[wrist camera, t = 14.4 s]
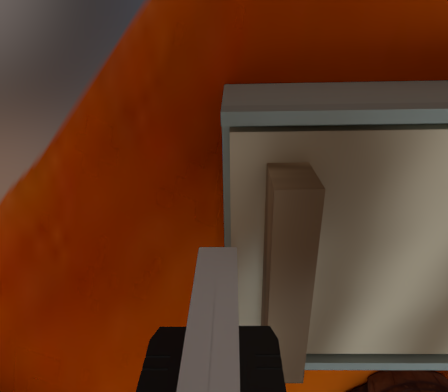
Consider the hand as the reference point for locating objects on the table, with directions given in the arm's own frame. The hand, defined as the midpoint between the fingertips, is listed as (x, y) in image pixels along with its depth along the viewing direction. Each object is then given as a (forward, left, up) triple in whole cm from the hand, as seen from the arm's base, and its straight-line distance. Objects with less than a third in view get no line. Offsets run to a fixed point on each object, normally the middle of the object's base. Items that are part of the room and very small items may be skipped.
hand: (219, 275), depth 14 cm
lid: (+11, 0, -2) cm, 11 cm away
